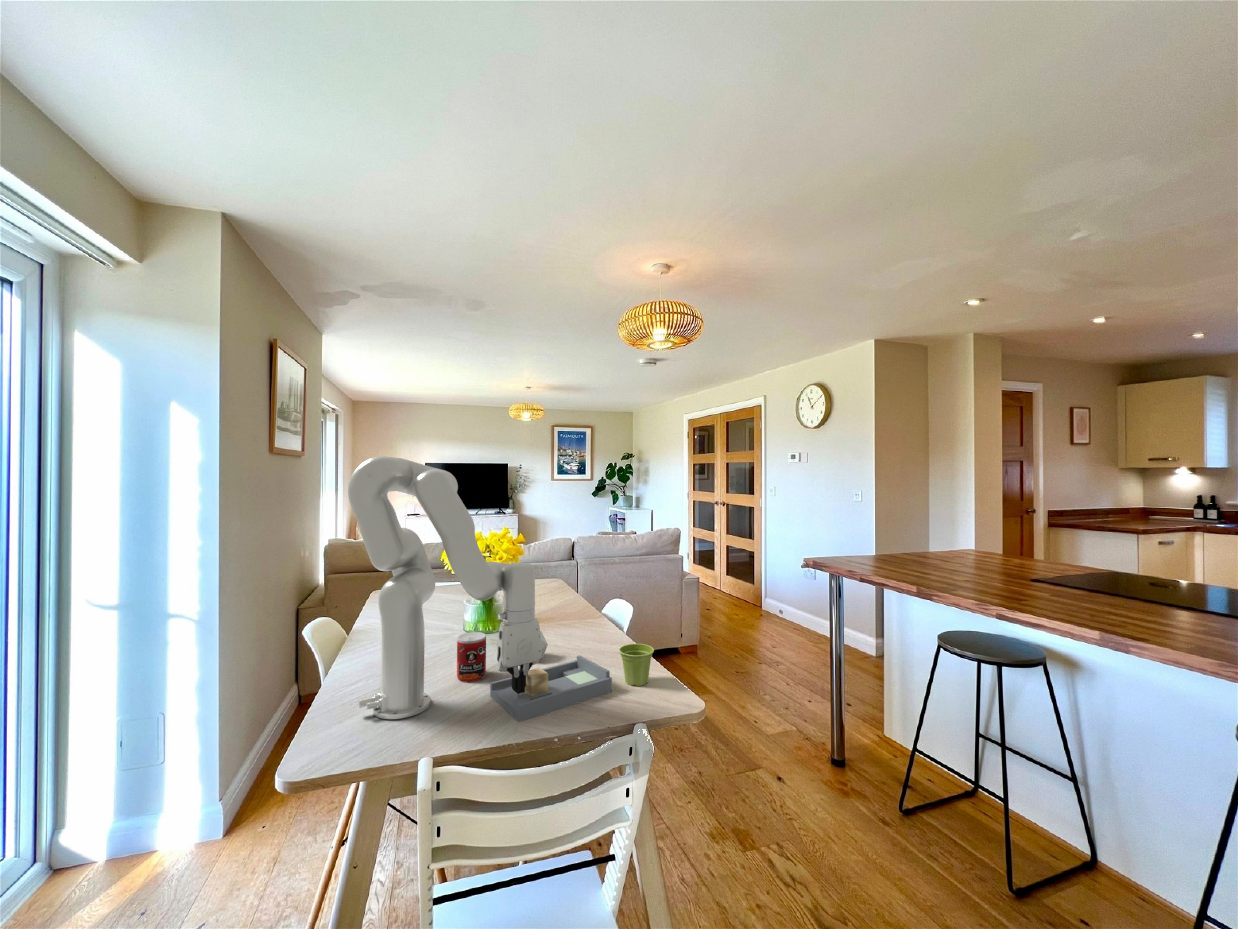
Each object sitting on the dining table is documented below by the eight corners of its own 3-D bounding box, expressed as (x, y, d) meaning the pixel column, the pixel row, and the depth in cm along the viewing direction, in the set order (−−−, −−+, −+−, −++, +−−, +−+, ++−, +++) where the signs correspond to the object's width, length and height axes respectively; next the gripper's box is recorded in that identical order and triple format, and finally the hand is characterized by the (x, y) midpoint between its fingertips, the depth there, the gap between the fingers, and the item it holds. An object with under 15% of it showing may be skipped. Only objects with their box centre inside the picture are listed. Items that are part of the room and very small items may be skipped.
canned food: (456, 684, 133) (456, 642, 133) (457, 672, 141) (457, 633, 141) (486, 681, 135) (486, 639, 135) (485, 669, 143) (486, 631, 143)
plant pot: (632, 692, 128) (632, 658, 129) (612, 679, 136) (612, 647, 136) (661, 684, 134) (661, 651, 134) (640, 672, 141) (640, 641, 142)
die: (513, 660, 152) (514, 640, 147) (528, 639, 159) (530, 619, 153) (536, 672, 150) (538, 653, 145) (551, 650, 157) (553, 631, 151)
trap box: (519, 721, 113) (519, 699, 113) (490, 696, 125) (490, 676, 126) (611, 691, 129) (611, 672, 129) (577, 672, 141) (577, 654, 141)
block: (531, 696, 121) (531, 677, 121) (523, 690, 125) (523, 671, 125) (547, 691, 124) (548, 673, 124) (539, 685, 127) (539, 667, 127)
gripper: (496, 624, 114) (496, 705, 114) (553, 613, 123) (553, 688, 123) (483, 616, 120) (483, 694, 120) (539, 607, 129) (539, 679, 129)
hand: (518, 691), depth 121 cm, fingers closed
